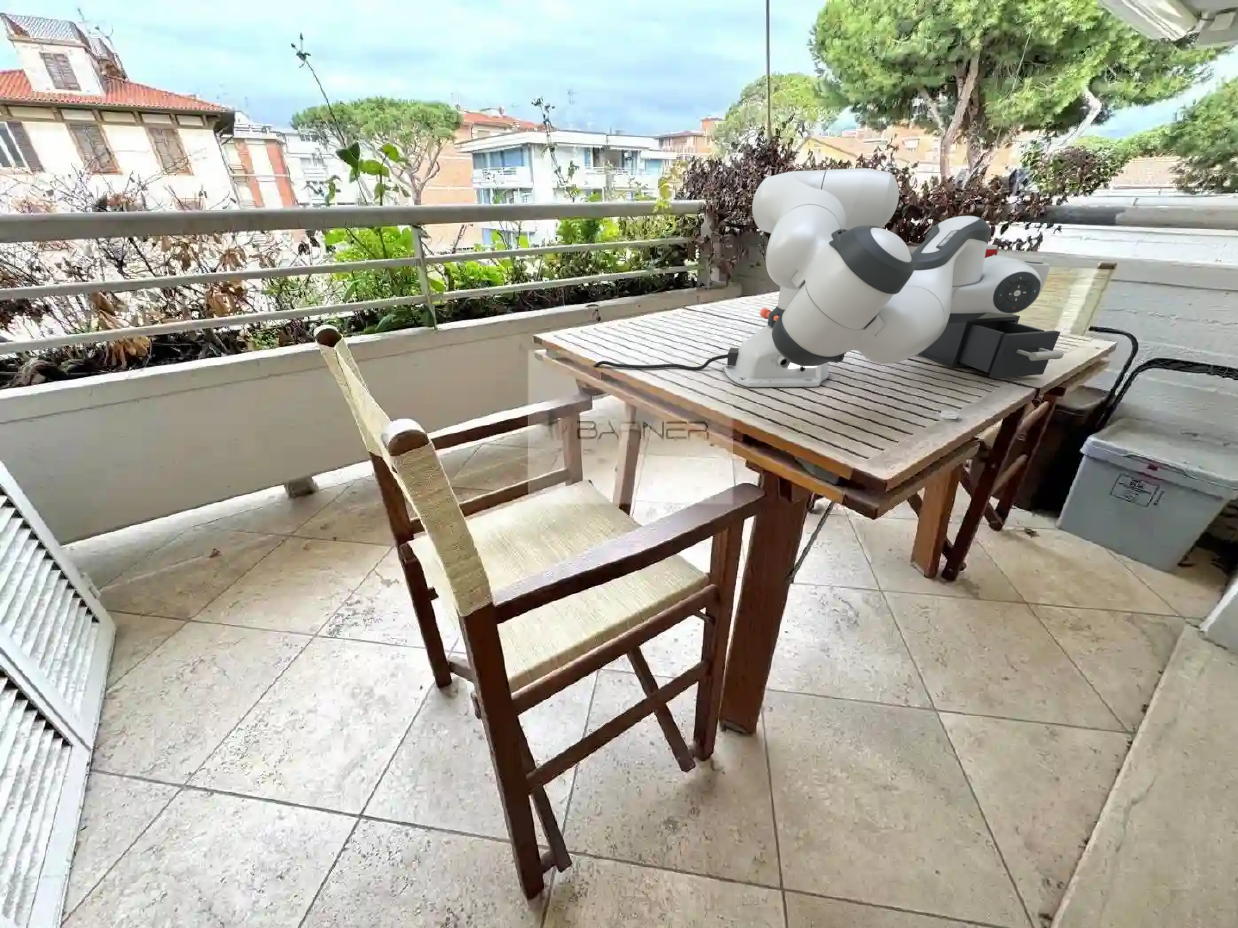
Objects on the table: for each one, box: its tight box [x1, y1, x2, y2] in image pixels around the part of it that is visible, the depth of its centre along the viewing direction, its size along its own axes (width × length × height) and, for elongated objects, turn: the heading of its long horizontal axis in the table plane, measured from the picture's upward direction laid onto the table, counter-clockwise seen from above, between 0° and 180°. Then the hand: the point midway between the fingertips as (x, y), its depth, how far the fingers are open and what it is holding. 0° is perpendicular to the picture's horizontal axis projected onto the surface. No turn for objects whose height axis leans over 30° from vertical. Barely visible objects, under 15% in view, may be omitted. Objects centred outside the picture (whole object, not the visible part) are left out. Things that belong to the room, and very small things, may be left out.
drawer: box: [958, 321, 1064, 379], centre depth 102 cm, size 18×12×9 cm, turn 9°
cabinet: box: [918, 312, 1021, 369], centre depth 113 cm, size 15×13×11 cm
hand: (976, 270), depth 108 cm, fingers closed on soda can, 5 cm apart
